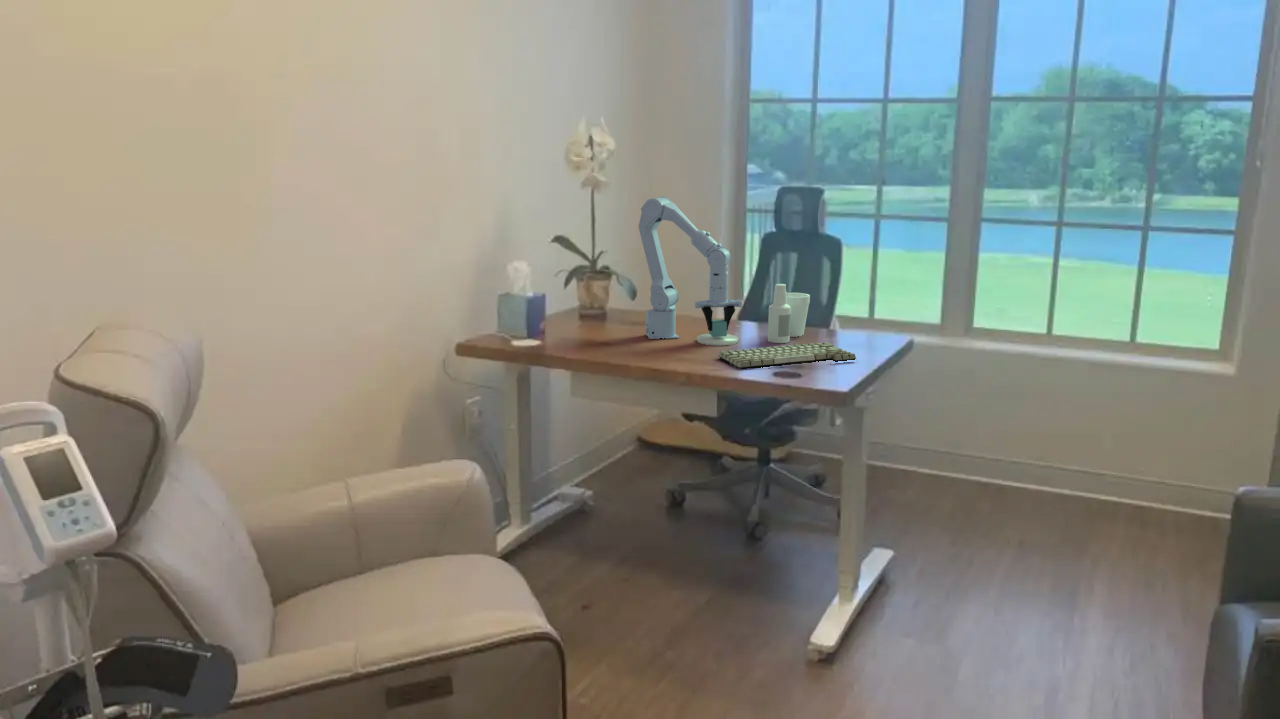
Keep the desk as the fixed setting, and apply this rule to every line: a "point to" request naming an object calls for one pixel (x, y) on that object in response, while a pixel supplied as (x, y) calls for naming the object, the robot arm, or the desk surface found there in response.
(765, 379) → the desk surface
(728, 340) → the dish
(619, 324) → the desk surface
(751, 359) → the mechanical keyboard
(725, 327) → the teal block
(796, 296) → the foam cup
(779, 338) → the spray bottle
